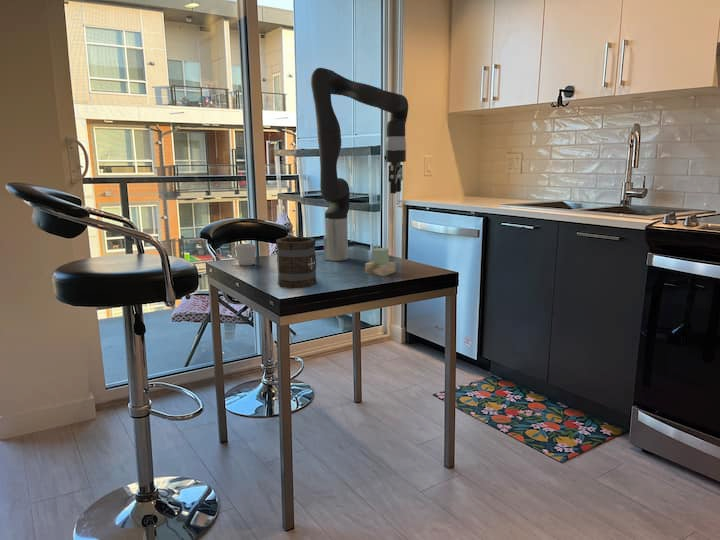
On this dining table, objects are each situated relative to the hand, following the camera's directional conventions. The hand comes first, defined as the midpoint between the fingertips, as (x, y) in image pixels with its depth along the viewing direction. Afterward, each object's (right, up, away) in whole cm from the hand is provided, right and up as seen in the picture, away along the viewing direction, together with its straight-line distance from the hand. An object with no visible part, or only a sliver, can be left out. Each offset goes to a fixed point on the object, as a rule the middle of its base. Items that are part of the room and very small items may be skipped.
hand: (395, 192), depth 199 cm
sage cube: (-6, -27, -9) cm, 29 cm away
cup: (-60, -28, +9) cm, 67 cm away
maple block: (-6, -31, -8) cm, 33 cm away
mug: (-35, -34, -21) cm, 53 cm away
